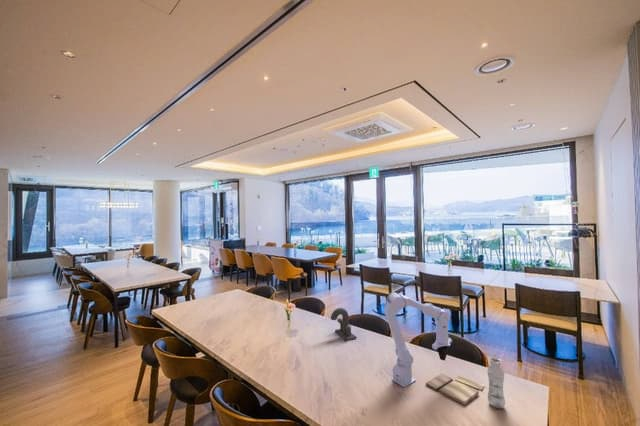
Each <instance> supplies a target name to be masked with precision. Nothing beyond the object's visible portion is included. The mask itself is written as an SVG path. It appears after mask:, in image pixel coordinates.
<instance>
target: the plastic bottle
mask: <svg viewBox="0 0 640 426" xmlns="http://www.w3.org/2000/svg"><path fill="white" fill-rule="evenodd" d="M486 372H487V377H488V393H487V402H488V403H489V404H490V406H492V407H493V408H496V409H499V410H500V409H504V407H505V406H506V400H505V395H504V394H505V393H504V381H505V371H504V370H503V369H502V368H501V360H500V359H498V358H494V357H491V358H490V365H489V366H488V367H487V371H486Z"/></svg>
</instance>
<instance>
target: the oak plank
mask: <svg viewBox="0 0 640 426" xmlns="http://www.w3.org/2000/svg"><path fill="white" fill-rule="evenodd" d="M438 392H439V393H440V394H442V395H444V396H447V397H448V398H451V399H452V400H455V401H457V402H458V403H460V404H462V405H464V406H465V405H466V404H467V403H468V402H470V401H472V400H473V399H474V398H476V397H477V396H478V395H479V394H480V390H478V389H475V388H473V387H470V386H467V385H465V384H462V383H459V382H457V381H455V379H453V381H451V382H450V383H448V384H447V385H445V386H443V387H442V388H440V389H439V390H438Z"/></svg>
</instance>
